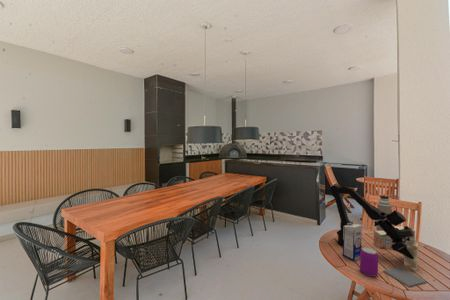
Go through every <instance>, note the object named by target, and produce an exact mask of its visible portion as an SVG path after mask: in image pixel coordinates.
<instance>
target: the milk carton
mask: <svg viewBox="0 0 450 300" xmlns="http://www.w3.org/2000/svg"><path fill="white" fill-rule="evenodd" d="M362 231H363V225H362V224H358V223H357V224H356V223H353V224H352V223H347V225H346V226H344V228H343V246H342V256H343V257H344V258H347V259H349V260H351V261H352V262H356V261H359V260H360V252H361V250H362V241H363V240H362V237H363V235H362V234H363V233H362Z"/></svg>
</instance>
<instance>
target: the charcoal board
mask: <svg viewBox="0 0 450 300" xmlns="http://www.w3.org/2000/svg"><path fill="white" fill-rule="evenodd" d="M382 272H383V273H384V274H386V275H387V276H389V277H391V278H392V279H394V280H396V281H397V282H399V283H401V284H403V285H404V286H406V287H407V288H412V287H417V286H420V285H423V284H427V283H428V281H427V280H426V279H424V278H422V277H419V276H418V275H416V274H414V273H412V271H411V272H410V271H409V270H407V269H405V267H404V268H403V267H402V266H396V267H391V268H388V269H384V270H382Z"/></svg>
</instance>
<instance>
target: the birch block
mask: <svg viewBox="0 0 450 300" xmlns="http://www.w3.org/2000/svg"><path fill="white" fill-rule="evenodd" d="M405 244H406V245H407V249H408V251H409V252H410V253H411V255H412V256H413V257H414V259H413V260H412V259H410V258H409V257H407V256H405V255H403V257H404V258H403V267H404V268H407V269H410V270H413V271H417V269H418V259H419V243H418V242H415V241H414V242H411V241H407V240H406V242H405Z"/></svg>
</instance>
